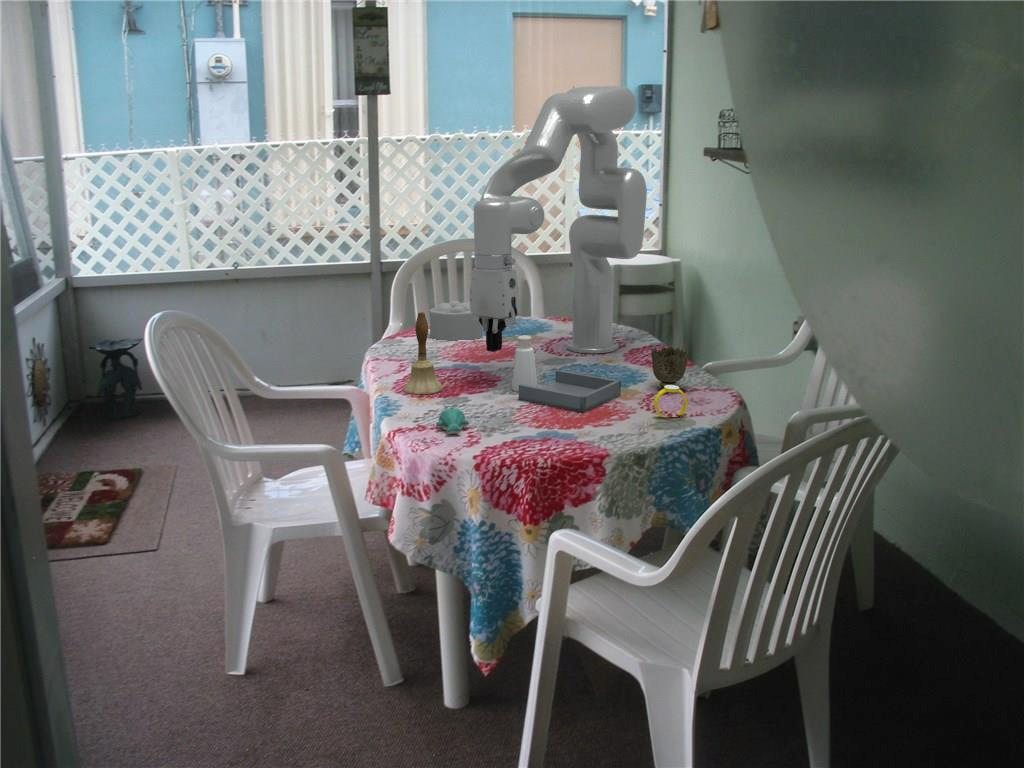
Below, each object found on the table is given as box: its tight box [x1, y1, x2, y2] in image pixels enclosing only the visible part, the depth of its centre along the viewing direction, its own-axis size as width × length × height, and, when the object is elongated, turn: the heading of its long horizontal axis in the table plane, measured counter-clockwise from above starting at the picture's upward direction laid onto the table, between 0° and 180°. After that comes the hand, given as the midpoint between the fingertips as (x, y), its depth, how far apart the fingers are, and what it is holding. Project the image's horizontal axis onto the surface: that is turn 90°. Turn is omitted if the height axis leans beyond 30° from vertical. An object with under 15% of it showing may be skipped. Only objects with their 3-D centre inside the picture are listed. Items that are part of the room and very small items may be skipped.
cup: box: [650, 345, 689, 389], centre depth 190 cm, size 8×7×8 cm
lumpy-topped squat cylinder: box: [429, 300, 483, 342], centre depth 237 cm, size 10×13×9 cm
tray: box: [518, 369, 622, 414], centre depth 185 cm, size 14×15×3 cm
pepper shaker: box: [511, 334, 538, 393], centre depth 190 cm, size 5×5×11 cm
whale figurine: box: [435, 407, 470, 435], centre depth 166 cm, size 6×7×4 cm
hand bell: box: [402, 311, 445, 395], centre depth 190 cm, size 8×8×16 cm
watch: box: [653, 385, 688, 418], centre depth 172 cm, size 6×3×6 cm, turn 96°
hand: (494, 350), depth 194 cm, fingers closed
